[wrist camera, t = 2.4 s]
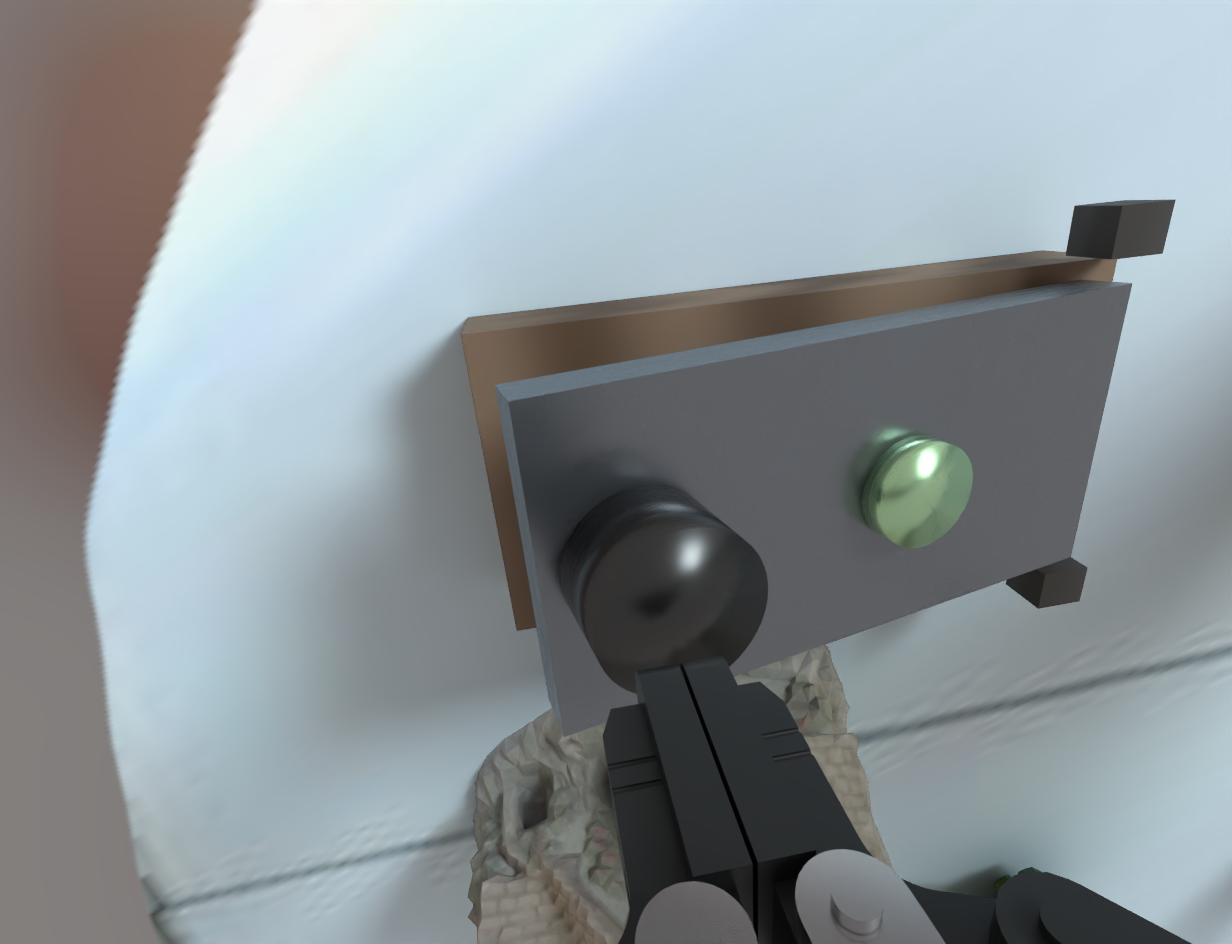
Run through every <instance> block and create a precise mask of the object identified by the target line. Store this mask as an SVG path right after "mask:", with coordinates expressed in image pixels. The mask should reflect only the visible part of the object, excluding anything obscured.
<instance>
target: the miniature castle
mask: <svg viewBox="0 0 1232 944" xmlns="http://www.w3.org/2000/svg"><path fill="white" fill-rule="evenodd" d="M734 678H735V680H736V683H737V685H742V684H748V683H753V682H759V681H760V682H761V683H762V684H764V685H765V686H766V687H767V688H768V689H770V690H771V691H772V692H773V693H775V694H776V695H777V696H778V697H779V698H781V699H782V700H783V701H784V702H785V704H786V706H787V708H788V710H789V711H790V713H791V715H792V717H793V719H794V720H795V722H796V724H797V726H798V729H799V732H800V733H802V735H803V737H804V738H805V740H806V742H807V744H808V746H809V747H810V750H811V754H812V755H814V756H815V758H816V760H817V762H818V764H819V765H820V767H821V769H822V771H823V773H824V774H825V776H826V778H827V780H828V782H829V783H830V785H831V787H832V789H833V791H834V792H835V794H836V796H837V798H838V800H839V801H840V803H841V805H842V807H843V809H844V810H845V812H846V814H847V816H848V818H849V819H850V821H851V823H852V825H853V827H854V828H855V830H856V832H857V834H858V836H859V837H860V839H861V841H862V842H863V844H864V845H865V847H866V848H867V850H868V851H869V852H870V853H871V854H872V856H873V857H874V858H876V859H877V860H879V861H881V862H882V863H884V864H885V865H887V866H888V867H889V868H891V869H892V870H893V868H892V865H891V862H890V860H889V857H888V854H887V852H886V849H885V847H884V844H883V842H882V839H881V837H880V834H879V832H878V830H877V827H876V825H875V822H874V820H873V817H872V814H871V808H870V796H869V789H868V782H867V778H866V775H865V772H864V770H863V767H862V765H861V763H860V761H859V759H858V756H857V754H856V750H857V747H858V743H859V741H858V739H857V738H856V737H855V735H854V734H853V733H847V730H846V716H847V712H848V710H849V705H848V703H847V701H846V699H845V697H844V692H843V688H842V684H841V681H840V679H839V677H838V674H837V672H836V670H835V668H834V666H833V663H832V661H831V656H830V651H828V647H827V646H825V645H822V646H819V647H816V648H813V649H811V650H808V651H805V652H802V653H799V654H797V655H794V656H791V657H788V658H785V659H783V660H780V661H777V662H774V663H771V664H769V665H766V666H763V667H760V668H757V669H754V670H752V671H749V672H746V673H743V674H740V675H738V676H735V677H734ZM606 723H607V722H606ZM606 723H603V724H600V725H597V726H594V727H592V728H589V729H586V730H583V731H580V732H577V733H575V734H572V735H569V736H566V737H564V736H563V733H562V731H561V728H560V726H559V723H558V721H557V718H556V716H555V713H554V711H553V708H552V709H550V710H549V711H547V712H546V713H544V714H543V715H541V716H539V717H538V718H537V719H535V720H534V721H533V722H530V723H529V724H527V725H526V726H525V727H523V728H522V729H520V730H518V731H517V732H515V733H514V734H512V735H510V736H509V737H507V738H505V739H504V740H503V741H502V742H501V743H500V744H499V745H498V746H497V747H496V748H495V749H494V750H493V751H492V752H491V753H490V754H489V755H488V756H487V758H486V760H485V761H484V763H483V765H482V768H481V769H480V771H479V776H478V780H477V781H476V782H475V785H476V789H475V792H476V797H475V799H476V804H477V808H476V811H475V814H474V819H473V821H474V822H475V825H474V837H475V840H476V842H477V846H478V851H477V853H476V854H475V856H474V857H473V858H472V860H471V861H470V863H471V867H472V872H473V875H472V880H471V885H470V888H469V893H468V898H469V899H470V901H471V902H472V903H473V909H472V910H471V912H470V914H469V916H468V918H469V919H470V920H471V921H472V922H473V923H474V924H475V925H476V926H477V941H478V942H477V944H618V942H619V941H620V939H621V937H622V935H623V933H624V930H625V927H626V924H627V921H628V916H629V904H628V899H627V893H626V887H625V881H624V875H623V869H622V863H621V857H620V851H619V845H618V839H617V833H616V827H615V821H614V815H613V810H612V804H611V796H610V789H609V781H608V774H607V766H606V759H605V751H604V744H603V732H604V729H605V726H606ZM893 871H894V870H893Z"/></svg>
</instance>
